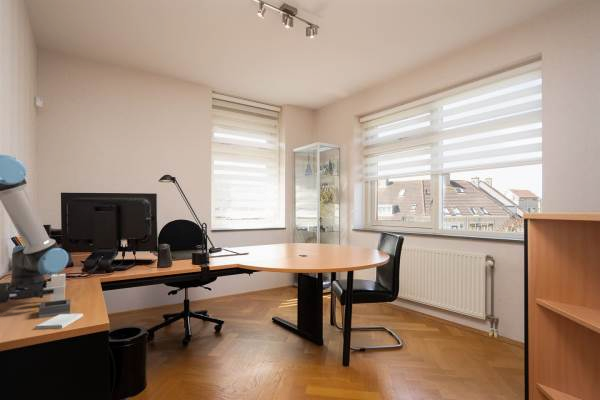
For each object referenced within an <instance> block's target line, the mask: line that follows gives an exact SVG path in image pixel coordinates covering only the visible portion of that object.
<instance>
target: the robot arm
mask: <svg viewBox="0 0 600 400" xmlns="http://www.w3.org/2000/svg"><path fill="white" fill-rule="evenodd" d="M26 175H27V168H26V166H25V164H24V163H23V162H22V161H21V160H20V159H18V158H16V157H14V156H11V155H7V154H6V155H5V154H0V202H1V204H2V205H3V207H4V209H5V211H6V213H7V215H8V217H9V219H10V220H11V222H12V224H13V226H14V228H15V230H16V231H17V233H18V235H19V237H20V239H21V241H22V242H23V245H17V246H16V245H15V246H14V247H13V248H12V252H11V276H10V277H11V278H10V282H0V304H5V303H8V302H10V300H17V299H20V300H21V299H28V298H38V299H43V298H44V296H51V295H53V294H62V293H64V287H65V288H66V284H67V282H66V279H65V286H60V287H51V281H47V279H46V277H45V276H49V275H50V276H52V275H54V274H60V272H62V271H63V270H64V269H65V268H66V267H67V265H68V263H69V254H68V252H67V251H66V250H65V249H63V248H60V247H59V245H58V243H57V241H56V239H53V238H50V236H49V235H48V232H47V230H46V229H45V227H44V225H43V222H42V220H41V219H40V217H39V214H38V213H37V211H36V209H35V207H34V204H33V202H32V200H31V199H30V197H29V195H28V192H27V190H26V186H27V185H28V182H27V181H26Z"/></svg>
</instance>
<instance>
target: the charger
mask: <svg viewBox="0 0 600 400" xmlns="http://www.w3.org/2000/svg"><path fill="white" fill-rule="evenodd" d="M65 280H66V273H56V274H53V275H50V282H51V287H60V286H65ZM65 294H66V287H64V293H62V294H53V295H49V296H50V301H57V300H65V296H66V295H65Z"/></svg>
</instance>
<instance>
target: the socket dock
mask: <svg viewBox="0 0 600 400" xmlns="http://www.w3.org/2000/svg"><path fill="white" fill-rule="evenodd" d="M71 301H72V298H67V299H65V298H64V300H57V301H44V302H43V301H42V302H41V303H40V305H39V308H38V319H42V318H49V317H55V316H57V315H59V314H71Z"/></svg>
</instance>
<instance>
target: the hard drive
mask: <svg viewBox="0 0 600 400" xmlns="http://www.w3.org/2000/svg"><path fill="white" fill-rule="evenodd" d="M82 317H84V314H83V313H70V314H59V315H57V316H52V317H51V318H50V319H47V320H45V321H43V322H41V323H40V324H37V325H35V327H34V330H47V329H48V330H49V329H50V330H52V329H54V328H56V329H63V328H65V327H67V326H69V325H70V324H72V323H74V322H75V321H77V320H79V319H80V318H82ZM54 330H55V329H54Z"/></svg>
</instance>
